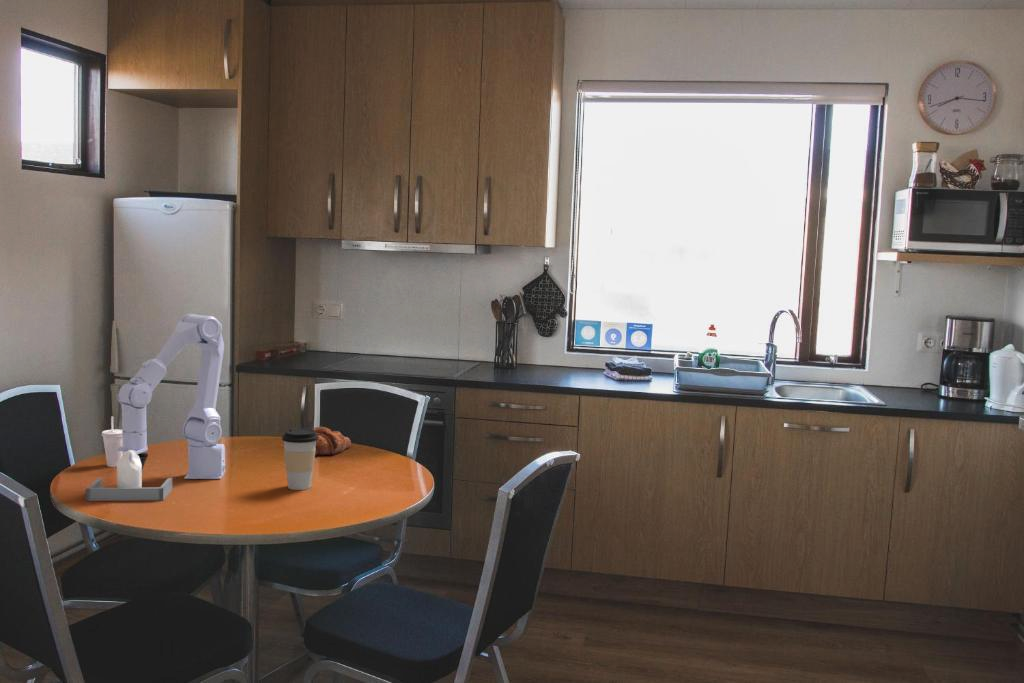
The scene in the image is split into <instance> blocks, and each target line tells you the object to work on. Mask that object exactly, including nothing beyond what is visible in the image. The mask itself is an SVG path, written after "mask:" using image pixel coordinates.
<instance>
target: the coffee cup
mask: <svg viewBox="0 0 1024 683" xmlns="http://www.w3.org/2000/svg"><path fill="white" fill-rule="evenodd" d="M312 429H313V428H312ZM312 429H311V428H302V427H301V428H300V427H299V428H289V429H287V430H285V431H284V434H283V435H282V437H281V441H283V445H284V447H283V448H284V449H283V452H284V453H283V454H284V464H285V471H286V476H287V477H286V478H287V488H288V489H289V490H293V491H304V490H309V489H310V488H311V487H312V479H313V471H314V467H315V466H314V465H315V457H316V456H315V450H316V448H315V445H316V441H317V440H318V439H319V438H318V435H317V434H316V431H315V430H312Z"/></svg>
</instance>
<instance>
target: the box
mask: <svg viewBox="0 0 1024 683" xmlns="http://www.w3.org/2000/svg"><path fill="white" fill-rule="evenodd" d="M172 491H173V478H172V477H168V478H167V479H166V480H164V482H163V483H162V484H161V486H159V487H157V486H156V487H153V486H152V487H151V486H149V487H143V486H142V487H130V488H118V487H103V477H100V478H99V477H98V478H97V479H95V480H94V481H93V482H92V483H91V484H89V486H87V487H86V488H85V501H86V502H88V501H89V502H95V501H96V502H97V501H98V502H101V501H102V502H104V501H105V502H106V501H107V502H108V501H111V502H113V501H114V502H115V501H116V502H117V501H118V502H119V501H121V502H122V501H127V502H129V501H164V500H165V499H166V498H167V497H168V495H169V494H170V493H171V492H172Z"/></svg>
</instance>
